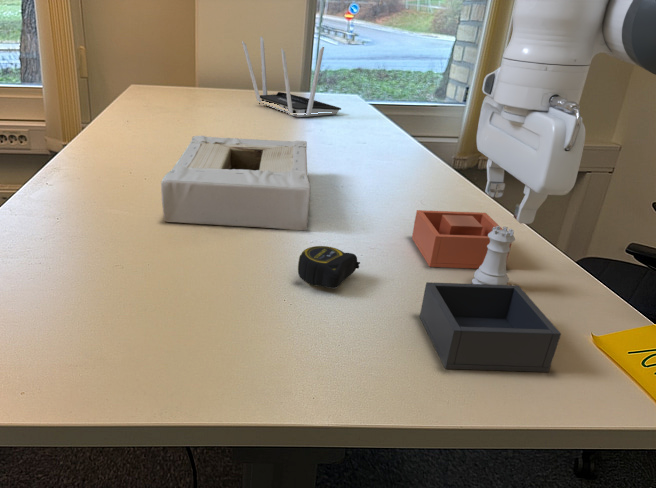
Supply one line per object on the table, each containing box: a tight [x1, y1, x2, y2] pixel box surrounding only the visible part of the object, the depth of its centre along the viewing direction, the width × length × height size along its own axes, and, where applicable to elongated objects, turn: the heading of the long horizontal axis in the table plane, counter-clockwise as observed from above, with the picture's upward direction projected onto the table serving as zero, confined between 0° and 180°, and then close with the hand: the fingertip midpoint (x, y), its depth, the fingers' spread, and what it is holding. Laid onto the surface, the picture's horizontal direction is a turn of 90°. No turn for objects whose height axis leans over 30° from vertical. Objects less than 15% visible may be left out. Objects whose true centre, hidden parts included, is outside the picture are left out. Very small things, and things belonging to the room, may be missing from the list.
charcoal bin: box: [419, 281, 562, 373], centre depth 63 cm, size 11×11×5 cm
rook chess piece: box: [471, 225, 516, 285], centre depth 74 cm, size 4×4×8 cm
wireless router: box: [241, 36, 342, 118], centre depth 177 cm, size 34×23×20 cm
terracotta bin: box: [411, 209, 513, 269], centre depth 85 cm, size 11×11×5 cm
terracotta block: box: [439, 215, 483, 236], centre depth 85 cm, size 4×4×4 cm
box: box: [160, 135, 311, 231], centre depth 104 cm, size 23×8×32 cm
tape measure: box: [297, 245, 361, 289], centre depth 75 cm, size 7×7×4 cm
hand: (507, 207), depth 71 cm, fingers open, 8 cm apart
